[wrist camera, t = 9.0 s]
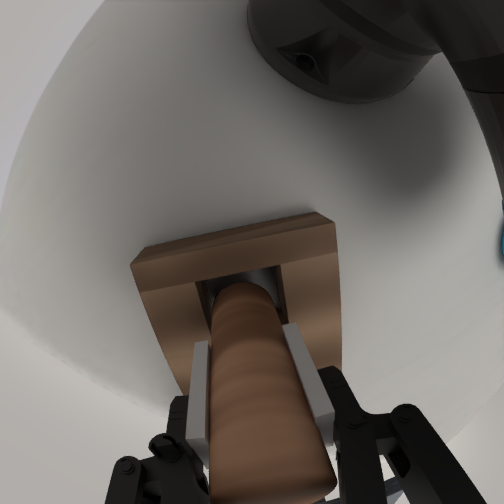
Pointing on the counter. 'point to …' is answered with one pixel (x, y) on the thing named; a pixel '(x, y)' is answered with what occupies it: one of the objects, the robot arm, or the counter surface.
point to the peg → (259, 409)
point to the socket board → (237, 261)
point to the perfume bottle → (503, 243)
